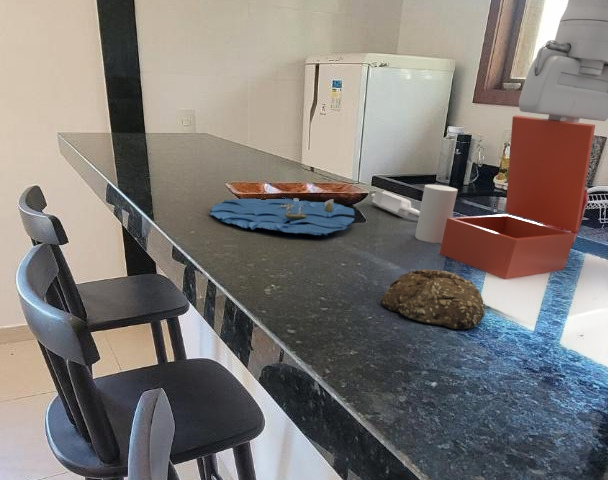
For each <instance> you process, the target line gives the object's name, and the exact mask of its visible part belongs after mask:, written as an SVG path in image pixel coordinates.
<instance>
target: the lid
mask: <svg viewBox="0 0 608 480" xmlns="http://www.w3.org/2000/svg"><path fill="white" fill-rule="evenodd" d="M511 120H512V121H511V133H510V149H509V163H508V174H507V189H506V201H505V202H506V204H505V214H508V215H512V216H515V217H519V218H523V219H526V220H527V219H528V220H530V221H533V222H537V223H538V222H539V223H540V222H542V223H545V224H549V225H552V226H556V227H559V228H563V229H567V230H570V231H574V232H576V231H578V232H579V230H580V227H579V222H580V216H581V210H582V204H583V198H584V192H585V187H586V186H587V185H586V184H587V178H588V172H589V166H590V162H591V161H590V159H591V153H592V148H593V143H594V135H595V129H596V124H593V123H592V124H591V123H583V122H578V123H576V122H567V121H559V120H551V119H548V118H543V117H542V118H541V117H533V116H526V115H524V116H523V115H514V116H512V119H511ZM578 229H579V230H578Z"/></svg>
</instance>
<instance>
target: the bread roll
mask: <svg viewBox="0 0 608 480" xmlns="http://www.w3.org/2000/svg"><path fill="white" fill-rule="evenodd" d="M380 303H381V305H382V306H383V307H385V308H386V309H388V310H389V311H392V312H395V313H399V314H400V315H402V316H404V317H405V318H407V319H410V320H413V321H417V322H420V323H423V324H424V323H425V324H430V325H435V326H443V327H446V328H449V329H451V330H469V329H473V328H475V327H476V326H478V325H479V324H480V322H481V321H483V318H484V317H485V315H486V305H485V303H484V298H483V296H482V294H481V292H480V290H479V289H478V288H477V285H475V284H474V283H473V281H471V280H468V279H466V278H464V277H463V276H461V275H458V274H456V273H453V272H450V271H446V270H436V269H425V268H424V269H416V270H412V271H409V272H405V273H403V274H402V275H400V276H399V277H398V278H396V279H395V280H393V281H392V282H391V283H390V284H389V286H388V288H387V290H386V292H384V293H383V295H381V297H380Z"/></svg>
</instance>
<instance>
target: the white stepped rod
mask: <svg viewBox="0 0 608 480" xmlns="http://www.w3.org/2000/svg"><path fill="white" fill-rule="evenodd" d="M371 198H372V201H371V202H372V203H374V204H376V205H377V206H378V207H379V208H380V209H383V210H386V211H388V212H390V213H392V214H394V215H396V216H399V217H402V218H405V217H408V215H409V214H412V215H414V216H417V217H419V213H420V210H419V209H416V208H413V207H412V200H411V201H410V200H409V199H407V198H405V197H402V196H399V195H396V194H394V193H391V192H389V191H387V190H383V191H380V190H375V193H371Z"/></svg>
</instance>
